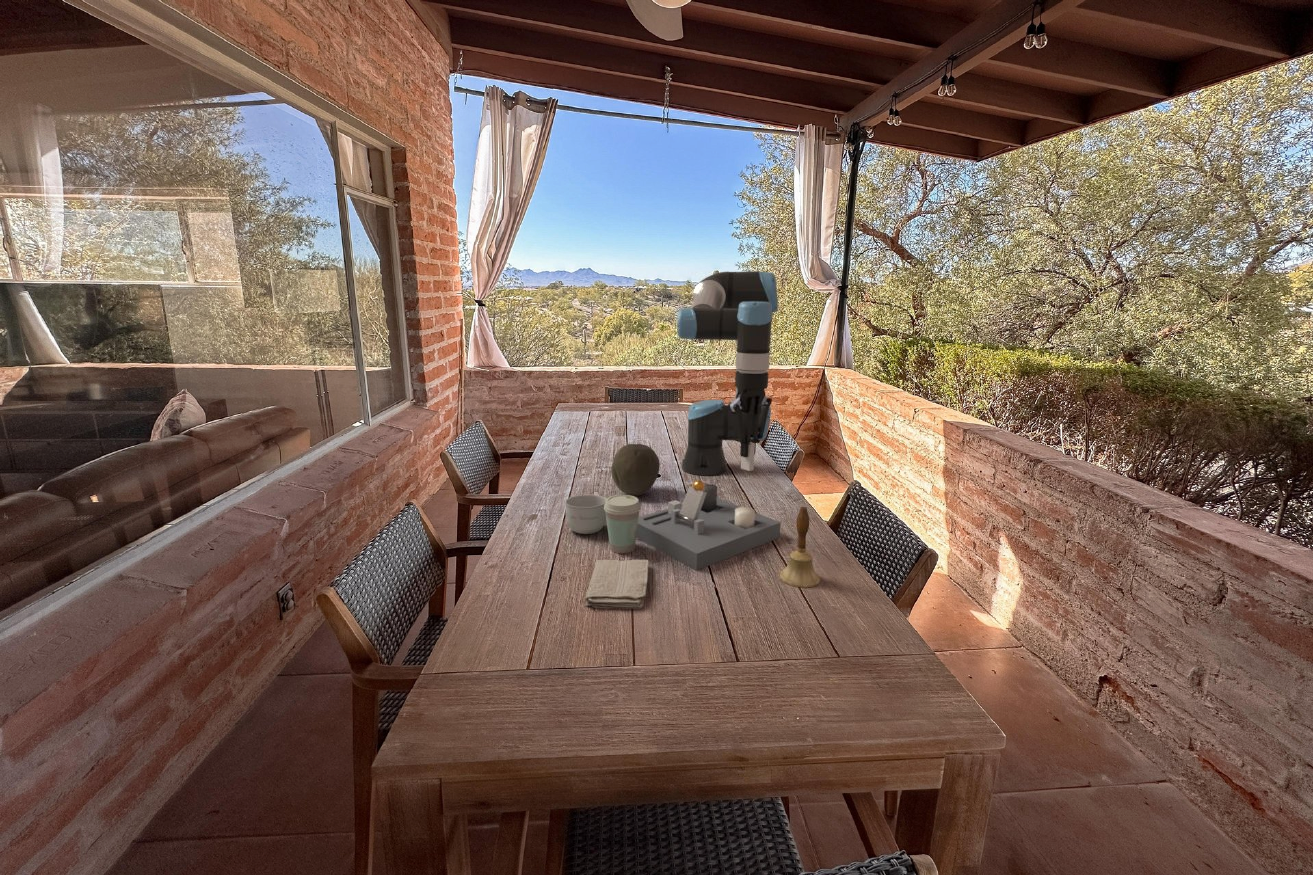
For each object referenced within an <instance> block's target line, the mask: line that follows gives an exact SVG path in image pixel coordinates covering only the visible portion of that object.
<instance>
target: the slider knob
mask: <svg viewBox="0 0 1313 875" xmlns="http://www.w3.org/2000/svg"><path fill="white" fill-rule="evenodd" d="M682 504H683V503H682V502H681V501H678V500H671V501H668V502H667V509H668V514H670V515H671V510H675V509H680V510H681V508H682Z"/></svg>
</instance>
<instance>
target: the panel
mask: <svg viewBox="0 0 1313 875" xmlns="http://www.w3.org/2000/svg"><path fill="white" fill-rule="evenodd" d="M682 505H683V503H682ZM739 507H741V506H740V505H737V504H734V503H732V502H730V501H727V500H724V499H721V498H719V497H717V508H716V509H715V510H712V511H705V510H700V513H699V516H698V519H697V520H695V521H694V525H693V524H691V523H688V522H686V521H684V520H682V519H680V518H678V517H677V514H678V513H680V511H681V510H680V509H675V510H671V515H670V514H668V508H665V509H663V510H658V511H654V512H651V513H649V514H644V515H641V516H639V518H638V526H637V535H636V539H638V540H640V541H641V542H643V543H645V544H647V545H648V546H650V547H652V548H654V549H657V551H659V552H662V553H663V554H665V555H667V556H669V557H671V558H673V559H675V560H676V561H678V562H679V563H680V562H681V563H682V564H683V563H684V565H685V566H686V567H687V566H688V567H689V568H691V569H692V570H694V569H695V571H696V570H697V571H698V570H701V569H704V568H706V567H709V566H711V565H714V564H716V563H719V562H722V561H724V560H726V559H728V558H731V557H734V556H736V555H739V554H742V553H744V552H746V551H749V550H752V549H754V548H756V547H759V546H762V545H764V544H767V543H769V542H771V541H775V540H777V539H780V538H781V537H780V536H781V524H782V523H781V521H778V520H775V519H773V518H770V517H768V516H765V515H763V514H760V513H758V512H755V520H754V526H753V527H750V528H747V529H743V528H741V527H739V526H736V525H734V523H735V509H736V508H739Z"/></svg>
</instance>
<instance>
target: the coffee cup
mask: <svg viewBox="0 0 1313 875" xmlns="http://www.w3.org/2000/svg"><path fill="white" fill-rule="evenodd" d="M606 498H607V500H606V503H605V505H604V510H605V512H606V520H607V525H606V526H607V527H606V528H607V535H608V542H609V549H610V551H612V552H613V553H616V554H629V553H631V552H633V551H634V550H635V548H636V542H637V538H636V535H637V526H638V518H639V517H640V516H639V515H640V510H641V509H642V507H641V503H640V501H639V498H638V497H637V496H632V495H629V494H615V495H612V496H609V497H606Z"/></svg>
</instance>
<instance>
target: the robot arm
mask: <svg viewBox="0 0 1313 875" xmlns="http://www.w3.org/2000/svg"><path fill="white" fill-rule="evenodd" d="M692 301H693V302H692V304H691V306H689V307H682V308H680V309H679V310H677V311H678V312H677V316H676V317H677V318H676V329H677V331H676V332H677V336H678V337H679V339H682V340H683V339H684V340H685V339H686V340H690V341H694V340H708V341H709V340H714V341H717V340H718V341H719V340H720V341H721V340H722V341H736V358H735V369H736V372H734V373H735V375H734V376H735V377H734V386H735V395H734V397H733V398H731V400H730V402H728V403H727V404H726V405H725V402H724V400H721V399H705V400H701V401H695V402H693V403H691V404H690V406H689V407H688V416H687V420H688V425H687V426H688V428H687V430H688V431H687V447H686V451H685V453H684V457H683V459H682V461H681V469H682V471H684V472H686V473H688V474H691V475H695V476H697V475H698V476H717V475H721V474H724V473H726V472H727V471H728V470H727V469H728V468H727V467H728V463H727V460H726V456H725V453H724V449H723V441H731V442H732V441H733V442H737V443H740V454H739V455H740V457H741V458H740V469H742V470H745V471H747V472H751V471H754V468H755V464H754V463H755V455H756V448H757V447H756V446H757V444H760V442H763V441H765V439H766V437H767V435H768V431H769V428H770V421H771V415H772V408H771V405H772V403H773V398H771V397H768V396H766V391H765V390H766V389H767V388H768V386H769V375H770V374H769V373H768V371H769V370H770V361H771V360H770V359H771V358H770V357H771V356H770V354H771V352H770V351H771V350H770V348H771V347H770V346H771V335H772V321H773V315H774V313H777V312H778V310H779V305H778V290H777V280H776V275H775V274H774V273H772V272H768V271H759V270H757V271H720V272H717V273H714V274H710V275H709V276H706V277H705V278H703V279H701V281H699V282H698V283H697V284H696V286H695V288H694V289H693V293H692Z"/></svg>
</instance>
